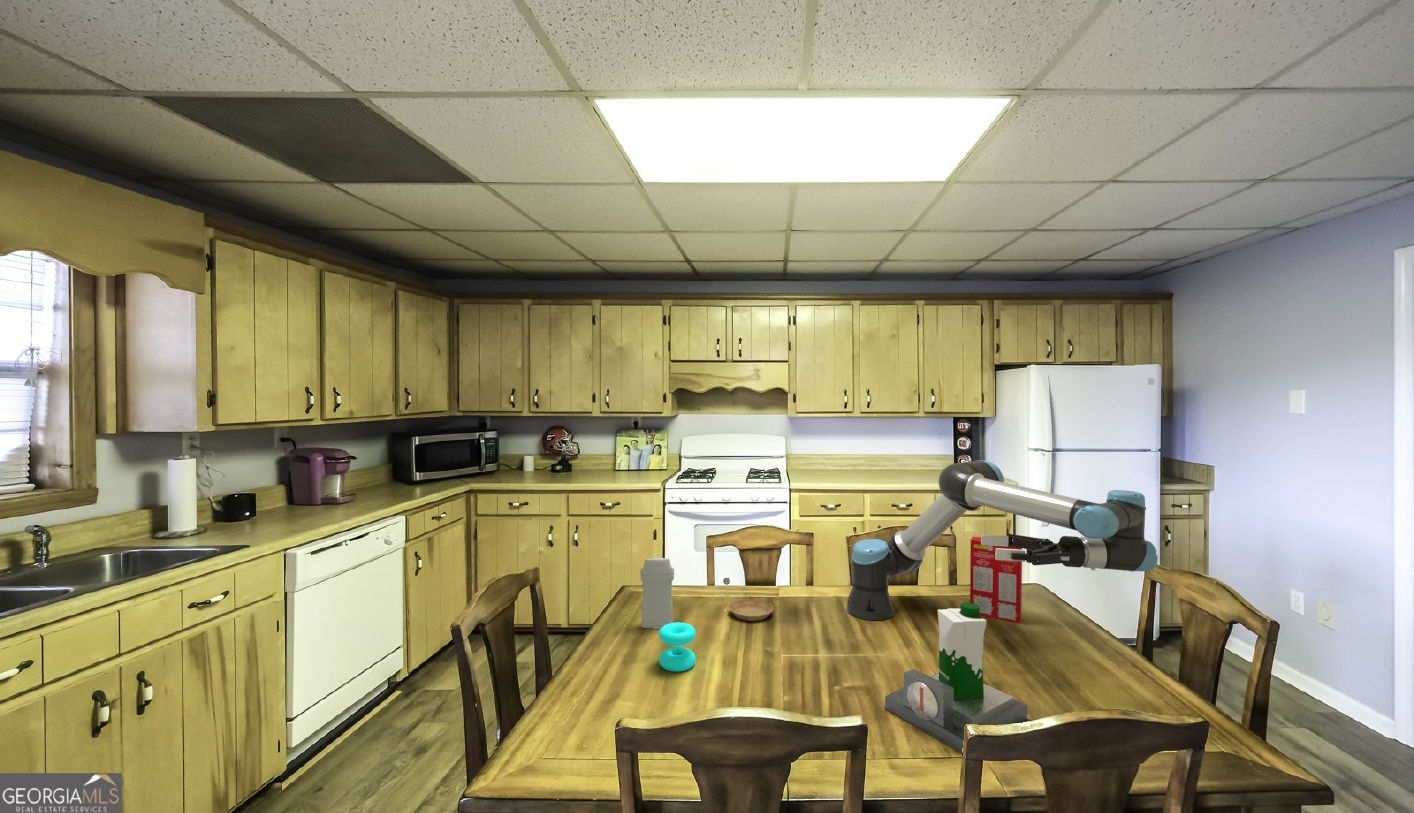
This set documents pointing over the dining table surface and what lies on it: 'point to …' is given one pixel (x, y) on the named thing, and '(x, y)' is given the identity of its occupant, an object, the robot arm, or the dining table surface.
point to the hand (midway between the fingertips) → (988, 546)
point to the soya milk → (962, 650)
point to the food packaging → (995, 583)
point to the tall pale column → (657, 593)
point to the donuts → (677, 656)
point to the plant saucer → (751, 609)
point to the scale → (950, 708)
